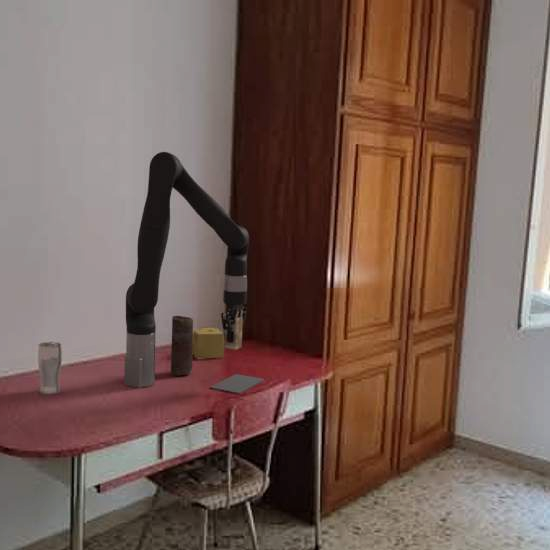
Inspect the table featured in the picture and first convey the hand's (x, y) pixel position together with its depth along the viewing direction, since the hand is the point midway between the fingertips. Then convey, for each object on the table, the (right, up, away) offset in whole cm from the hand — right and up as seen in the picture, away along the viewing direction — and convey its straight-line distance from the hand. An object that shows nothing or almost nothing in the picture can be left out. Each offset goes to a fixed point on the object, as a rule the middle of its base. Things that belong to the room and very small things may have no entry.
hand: (233, 340), depth 232 cm
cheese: (-12, -10, +40) cm, 43 cm away
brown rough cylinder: (-19, -13, +15) cm, 27 cm away
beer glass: (-56, -15, -10) cm, 59 cm away
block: (0, -2, 0) cm, 2 cm away
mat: (+1, -15, +6) cm, 16 cm away
